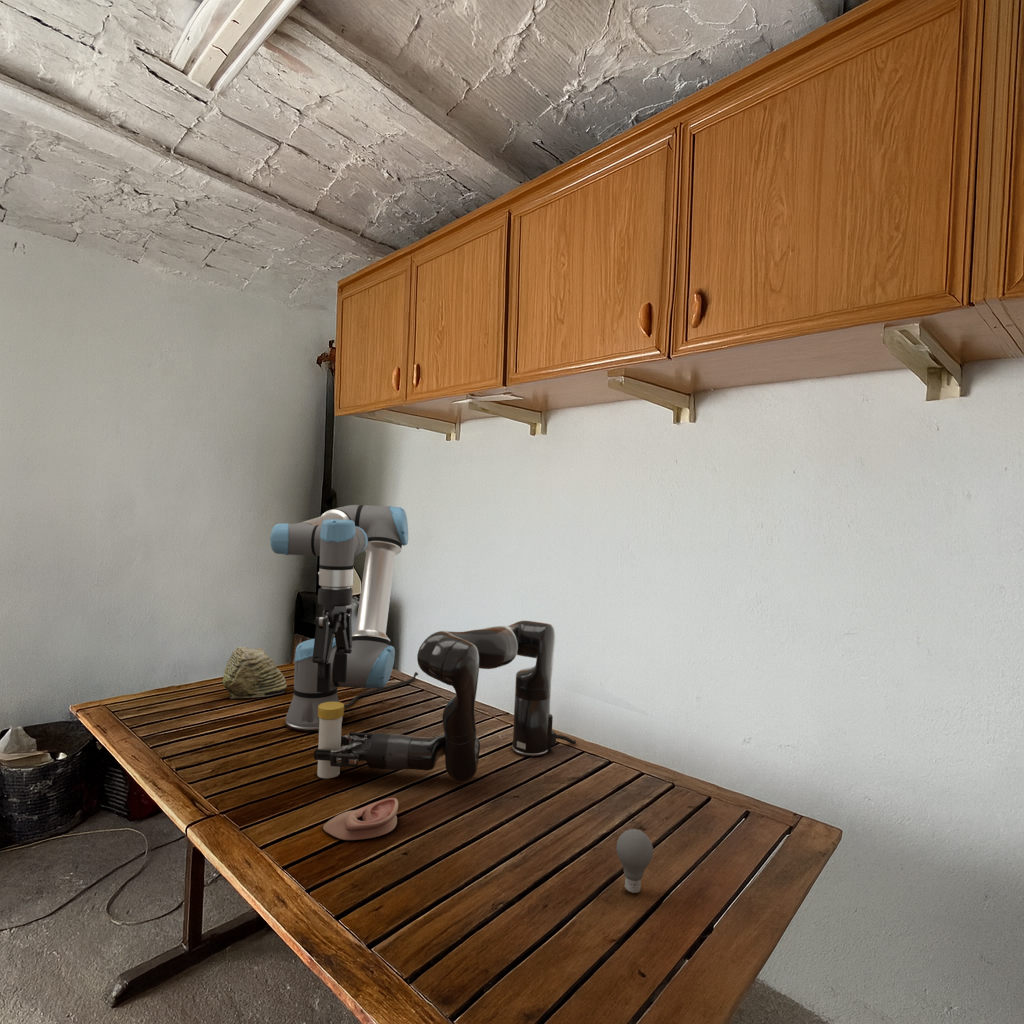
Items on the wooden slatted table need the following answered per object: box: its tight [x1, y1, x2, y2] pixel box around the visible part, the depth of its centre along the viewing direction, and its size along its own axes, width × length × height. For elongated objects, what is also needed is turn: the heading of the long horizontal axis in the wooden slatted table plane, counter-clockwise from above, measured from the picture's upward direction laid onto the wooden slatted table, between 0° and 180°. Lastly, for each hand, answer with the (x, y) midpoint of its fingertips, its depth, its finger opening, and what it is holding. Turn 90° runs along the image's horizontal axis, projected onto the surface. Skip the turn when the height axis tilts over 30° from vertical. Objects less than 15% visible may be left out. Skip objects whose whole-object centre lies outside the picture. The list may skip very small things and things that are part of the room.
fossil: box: [222, 646, 288, 699], centre depth 198 cm, size 9×18×15 cm, turn 132°
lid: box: [318, 701, 345, 720], centre depth 145 cm, size 6×6×2 cm
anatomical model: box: [322, 797, 399, 841], centre depth 122 cm, size 13×4×12 cm
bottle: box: [316, 717, 343, 779], centre depth 145 cm, size 5×5×15 cm
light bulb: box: [615, 828, 654, 894], centre depth 106 cm, size 6×6×10 cm
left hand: (331, 686), depth 145 cm, fingers open, 8 cm apart
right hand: (321, 746), depth 145 cm, fingers open, 8 cm apart
